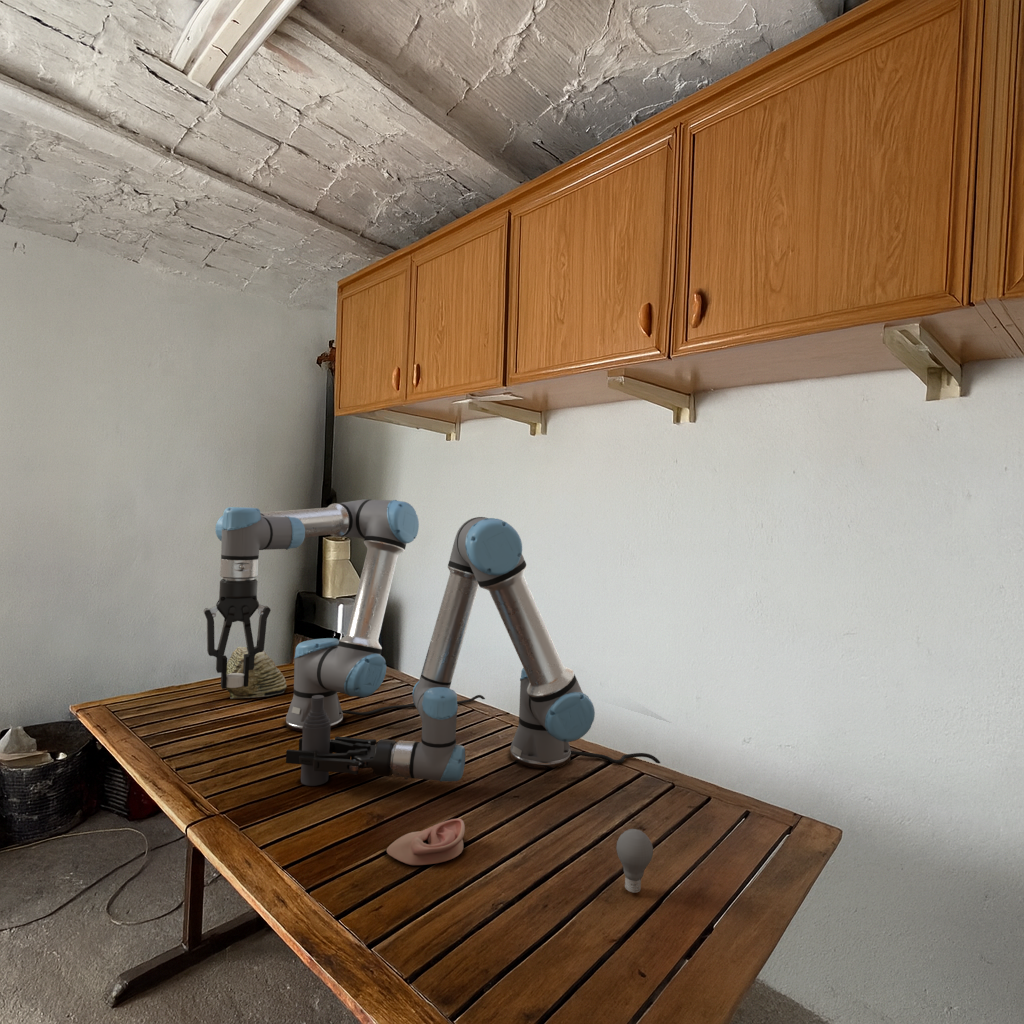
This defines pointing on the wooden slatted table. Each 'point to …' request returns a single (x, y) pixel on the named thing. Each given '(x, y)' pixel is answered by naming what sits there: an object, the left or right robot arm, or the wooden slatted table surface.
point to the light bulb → (634, 857)
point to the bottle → (315, 740)
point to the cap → (234, 680)
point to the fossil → (256, 676)
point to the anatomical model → (430, 844)
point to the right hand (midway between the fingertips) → (293, 750)
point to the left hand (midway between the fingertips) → (234, 685)
